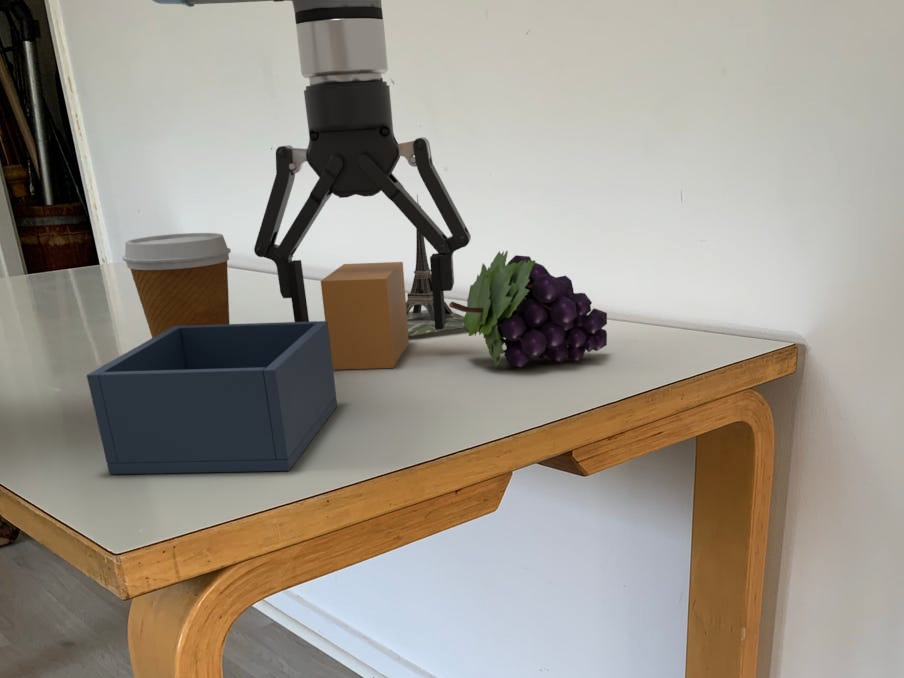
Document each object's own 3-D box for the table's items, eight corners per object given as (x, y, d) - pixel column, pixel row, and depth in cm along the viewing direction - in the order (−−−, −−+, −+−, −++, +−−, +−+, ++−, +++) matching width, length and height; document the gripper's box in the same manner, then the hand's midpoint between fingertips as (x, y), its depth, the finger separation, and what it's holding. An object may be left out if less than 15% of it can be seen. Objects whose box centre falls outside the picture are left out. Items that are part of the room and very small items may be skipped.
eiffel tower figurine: (359, 318, 116) (347, 194, 110) (439, 309, 119) (432, 188, 113) (400, 340, 104) (389, 202, 97) (488, 329, 107) (483, 194, 101)
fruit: (605, 398, 91) (452, 374, 86) (570, 356, 99) (428, 332, 94) (642, 288, 86) (480, 255, 81) (601, 253, 94) (452, 221, 89)
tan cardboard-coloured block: (330, 370, 93) (320, 280, 89) (352, 345, 103) (343, 263, 99) (393, 368, 93) (385, 278, 89) (409, 343, 102) (402, 261, 98)
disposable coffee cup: (189, 389, 89) (163, 246, 83) (126, 377, 94) (97, 242, 88) (269, 367, 95) (250, 233, 90) (205, 357, 100) (184, 231, 95)
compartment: (109, 474, 68) (86, 374, 64) (188, 410, 82) (173, 325, 79) (289, 471, 67) (275, 369, 63) (337, 406, 81) (327, 320, 78)
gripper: (490, 72, 89) (500, 316, 99) (220, 89, 91) (257, 327, 101) (484, 70, 82) (496, 331, 92) (193, 88, 84) (236, 342, 94)
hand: (371, 329), depth 97 cm, fingers open, 13 cm apart
